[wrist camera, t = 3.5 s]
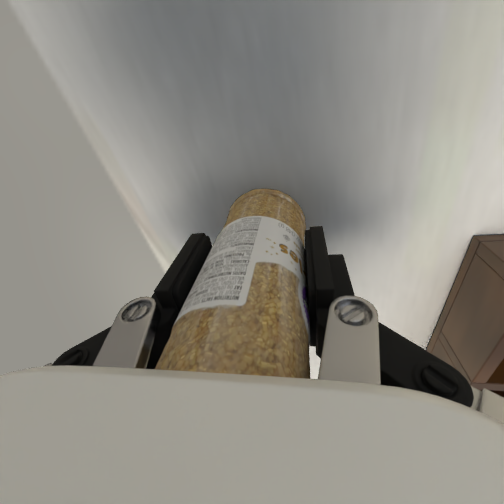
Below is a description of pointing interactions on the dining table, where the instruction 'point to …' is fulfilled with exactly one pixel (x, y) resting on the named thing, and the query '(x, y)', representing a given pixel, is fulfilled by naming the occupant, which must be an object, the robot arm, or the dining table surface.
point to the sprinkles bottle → (248, 296)
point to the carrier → (475, 317)
